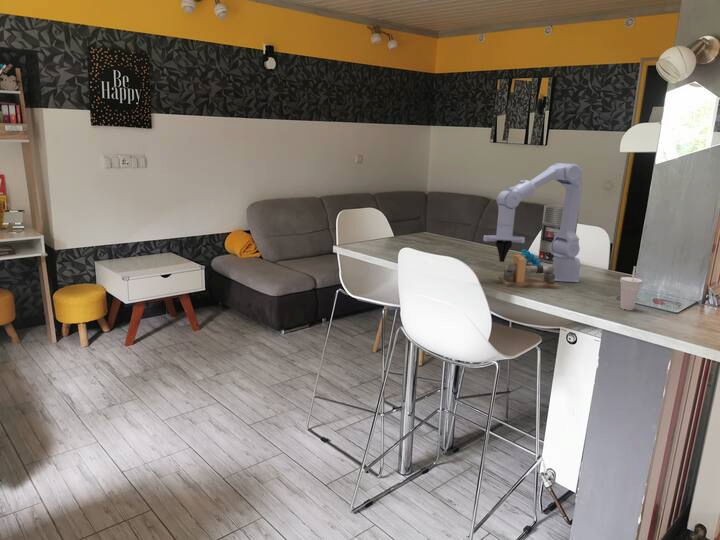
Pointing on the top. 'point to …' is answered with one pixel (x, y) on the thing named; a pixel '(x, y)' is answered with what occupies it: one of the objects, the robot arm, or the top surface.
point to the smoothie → (629, 291)
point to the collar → (519, 268)
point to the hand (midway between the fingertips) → (501, 261)
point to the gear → (530, 258)
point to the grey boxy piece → (550, 231)
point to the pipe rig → (530, 281)
